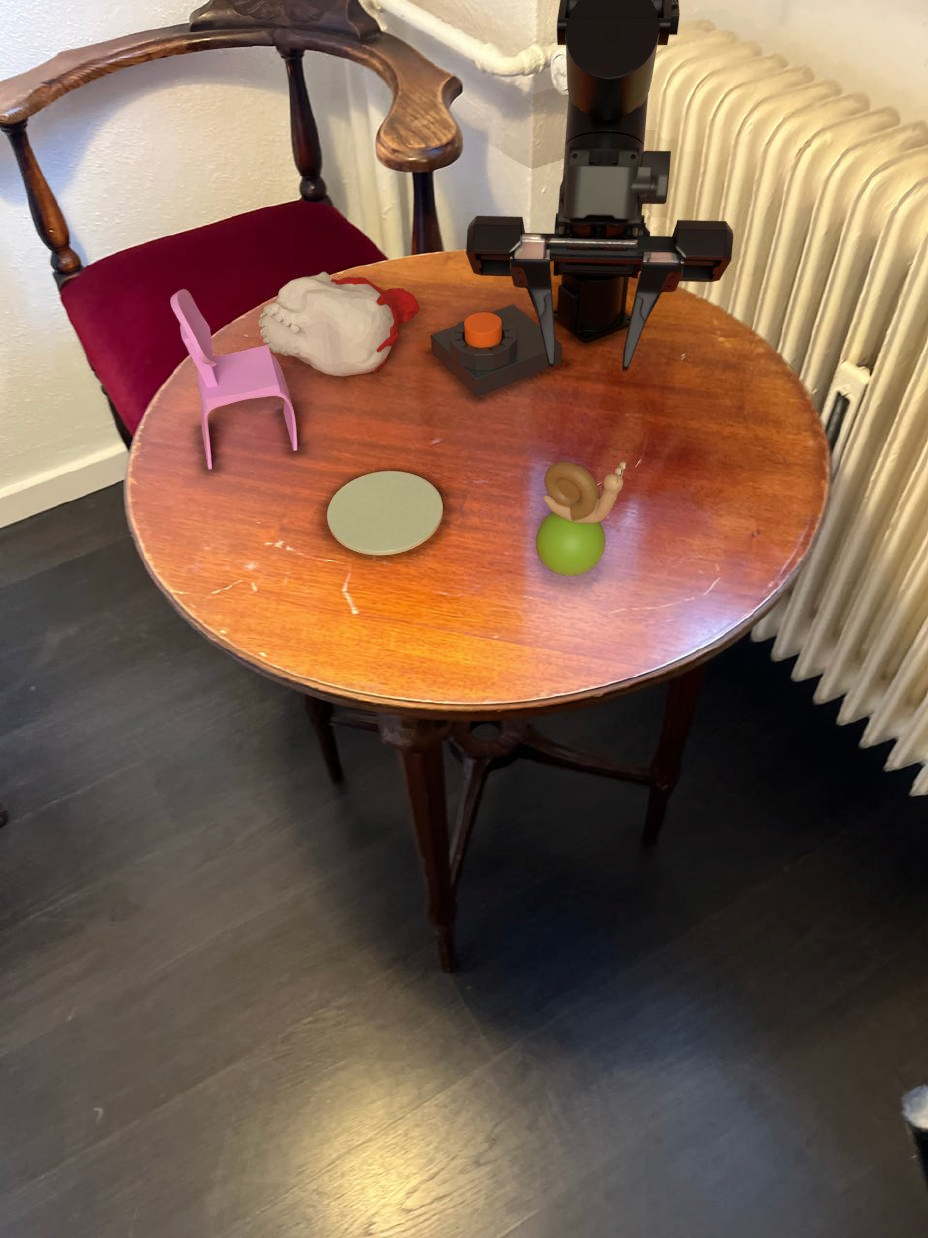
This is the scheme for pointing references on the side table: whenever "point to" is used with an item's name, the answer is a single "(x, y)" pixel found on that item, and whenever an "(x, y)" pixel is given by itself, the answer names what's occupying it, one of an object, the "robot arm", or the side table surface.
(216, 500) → the side table surface
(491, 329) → the button
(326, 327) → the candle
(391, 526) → the coaster
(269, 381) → the toy chair
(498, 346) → the button block
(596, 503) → the snail figurine
